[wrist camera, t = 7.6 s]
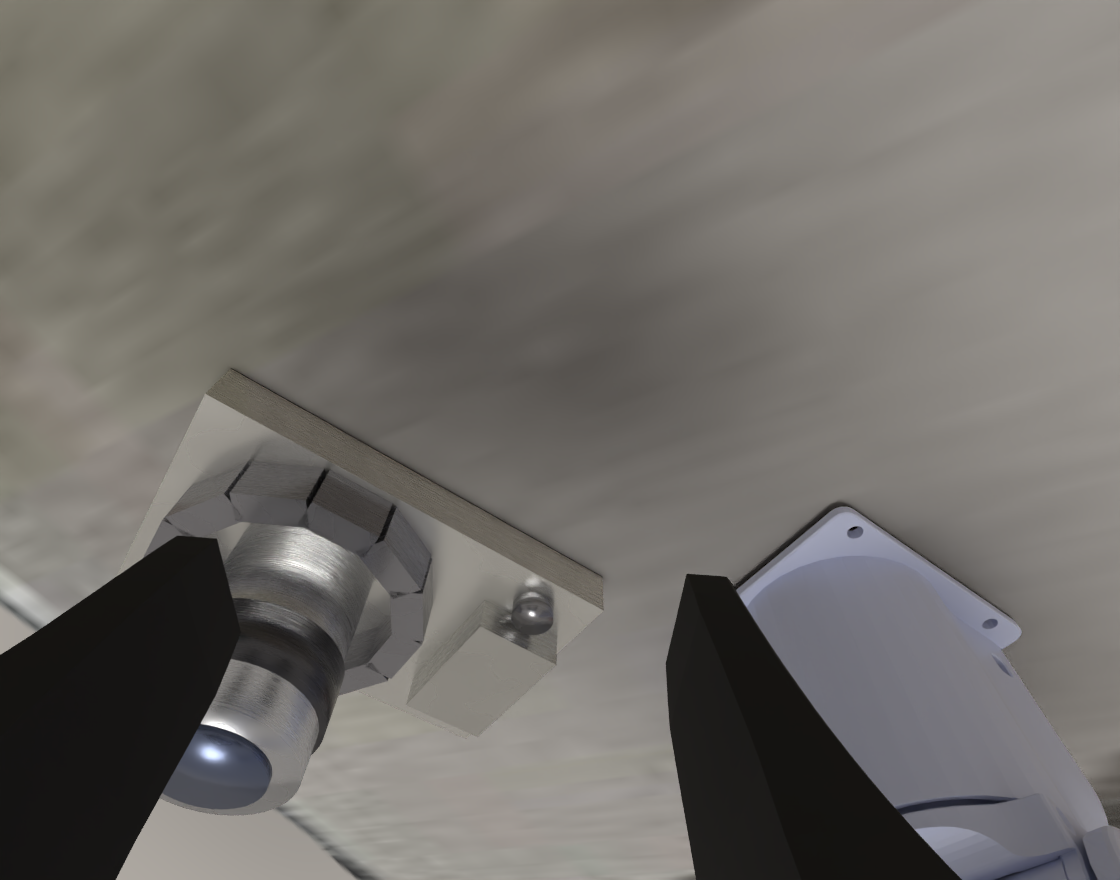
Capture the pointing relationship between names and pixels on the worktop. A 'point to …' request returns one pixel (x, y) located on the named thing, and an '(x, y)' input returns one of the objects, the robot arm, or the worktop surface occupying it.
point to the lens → (274, 671)
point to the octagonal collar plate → (382, 555)
